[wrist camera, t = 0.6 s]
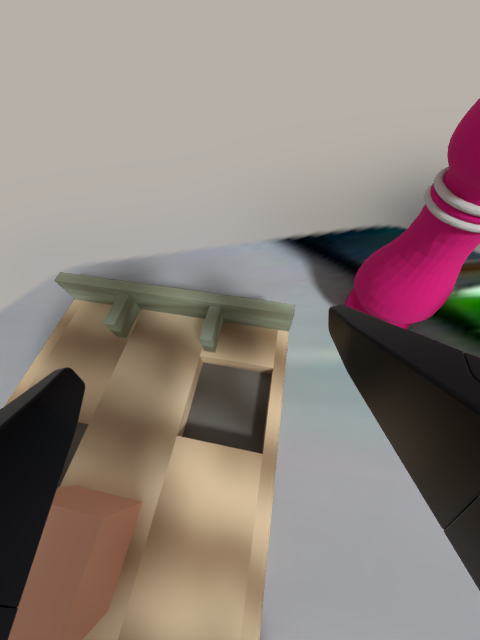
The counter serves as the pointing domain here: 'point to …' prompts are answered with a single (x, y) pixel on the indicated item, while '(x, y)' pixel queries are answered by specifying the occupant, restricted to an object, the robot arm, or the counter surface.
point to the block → (75, 565)
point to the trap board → (176, 446)
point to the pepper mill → (428, 241)
